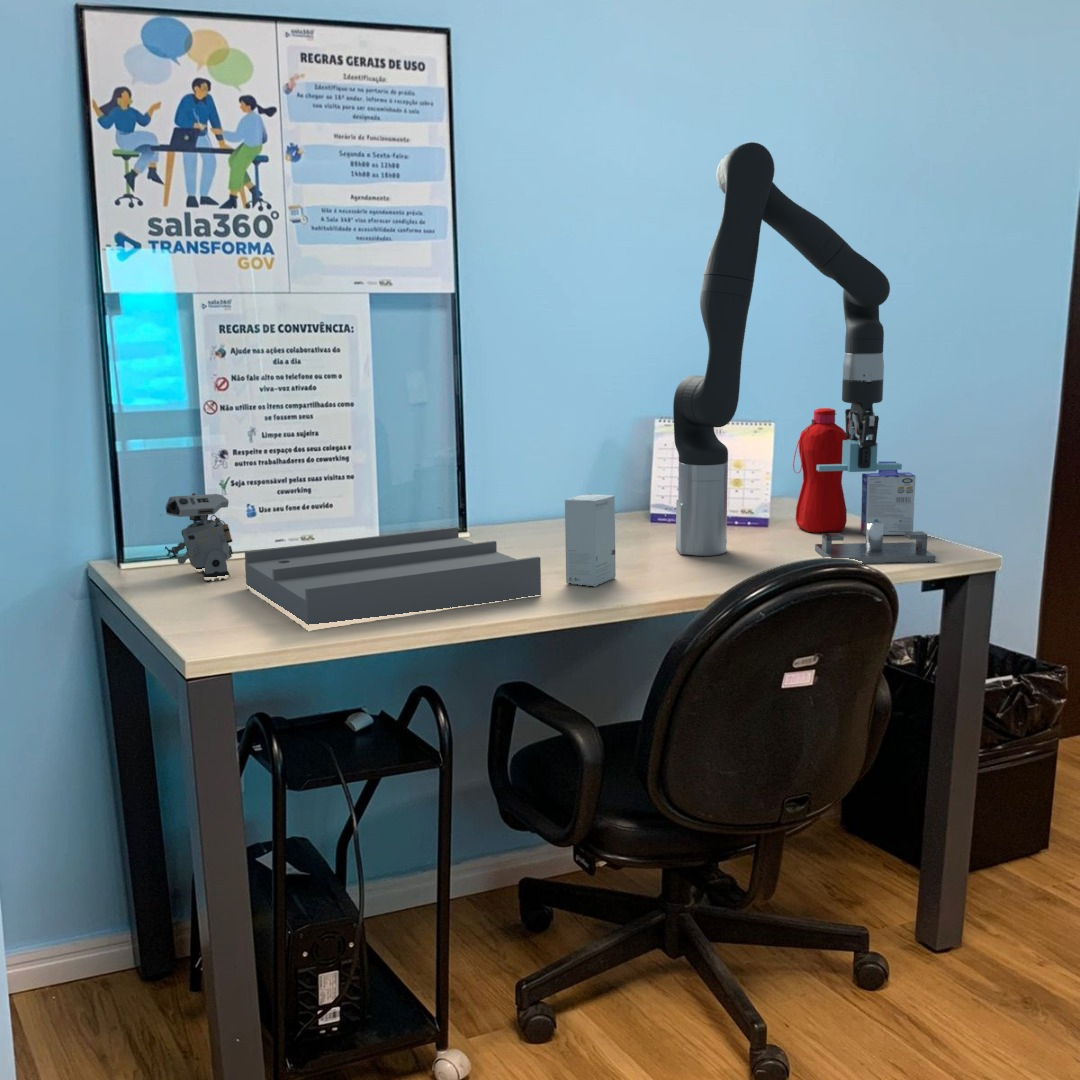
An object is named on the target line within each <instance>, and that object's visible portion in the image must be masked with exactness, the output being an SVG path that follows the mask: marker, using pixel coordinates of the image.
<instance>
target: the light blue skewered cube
mask: <svg viewBox="0 0 1080 1080" xmlns="http://www.w3.org/2000/svg"><path fill="white" fill-rule="evenodd" d="M859 449H861V448H859V447H858V440H849V439H848V440H843V447H842V464H825V465H817V467H816V470H818V471H843V472H848V473H861V472H862V473H863V472H866V473H868V472H869V473H870V472H873V473H874V472H877V471H879V470H902V467H903V465H902V463H900V462H896V463H879V462H878V442H876V446H873V448H870V449H871V462H870V467H869V468H859V467H858V450H859Z"/></svg>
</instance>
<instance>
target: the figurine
mask: <svg viewBox="0 0 1080 1080" xmlns="http://www.w3.org/2000/svg"><path fill="white" fill-rule="evenodd" d="M228 507H229V499H228V498H226V497H225V496H224V495H222V494H217V493H211V494H210V493H209V494H207V493H206V494H196V493H194V492H193V493H192V494H191V495H177V496H169V497H168V499H167V503H166V505H165V511H166V515H168V516H171V517H178V518H182V517H184V518H185V517H188V518H189V520H190V521H193V523H190V524H189V525H187V527H185V528H183V529H182V530H181V536H182V537H183V542H178V544H177V546H172V547H171V549H169V547H167V546H165V547H164V550H167V552H168V553H166V556H167V557H169V559H174V558H175V559H177V563H178V564H179V565H183V564H185V563H186V562H187V560H189V563H190V565H191V567H193V568H194V569H195V568H196V569H202V568H205V572H203V577H217V576H225V575H229V576H230V574H229V571H228V564H227V561H228V560H229V559H231V558H232V557H233V556H232V555H233V554H234V551H233V548H232V545H229V543H233V538H232V535H231V531H230V527H229V524H228V523H226V522H225V521H224V520H221V519H220V517H218V516H217V515H215V514H216V513H217V512H218V511H219V510H221V508H228ZM210 515H211V516H210ZM209 516H210V519H209ZM213 517H215V518H214V519H213ZM185 548H186V552H185V554H183V555H182V556H179V555H178V554H179V552H180V551H182V550H184V549H185ZM171 554H172V556H171Z"/></svg>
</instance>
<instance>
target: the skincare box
mask: <svg viewBox="0 0 1080 1080" xmlns="http://www.w3.org/2000/svg"><path fill="white" fill-rule="evenodd" d="M615 497H616V496H615V495H613V494H612V495H611V494H592V493H589V494H588V493H586V494H582V495H576V496H573V497H570V498H567V499H566V498H565V500H564V519H565V521H564V525H565V531H564V532H565V534H564V535H565V583H566V584H568V583H571V584H570V585H577V584H578V586H582V585H587V586H586V587H588V586H594V587H593V588H596V587H598V586H600V585H601V584H604V583H606V582H608V581H611V580H613V579H616V520H615V519H616V518H615V516H616V515H615V513H616V512H615V511H616V508H615V506H616V503H615V501H616V500H615ZM599 584H600V585H599ZM597 585H598V586H597Z"/></svg>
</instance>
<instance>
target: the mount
mask: <svg viewBox="0 0 1080 1080" xmlns="http://www.w3.org/2000/svg"><path fill="white" fill-rule="evenodd" d="M821 534H822V535H821V543H815V544H814V551H815V552H816V553H818V554H819V555H820V556H821V557H823V558H824V557H831V558H849V559H855V560H858V561H862V562H863V563H866V564H883V563H882V562H917V563H936V559H937V556H936V555H935V554H934V553H932V552H930V551H929V550H928V549H927V548H928V533H926V532H924V531H923V530H922V531H913V532H905V535H904V536H905V538H907V539H909V540H916V541H909V542H907V541H906V542H884V535H883V523H881V522H868V523H867V529H866V535H865V542H860V543H857V542H855V543H854V542H853V543H833V542H834V541H835V542H836V541H839V542H840V541H844V537H845V536H844V535H843V534H841V533H840V532H821ZM928 561H929V562H928Z"/></svg>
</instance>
